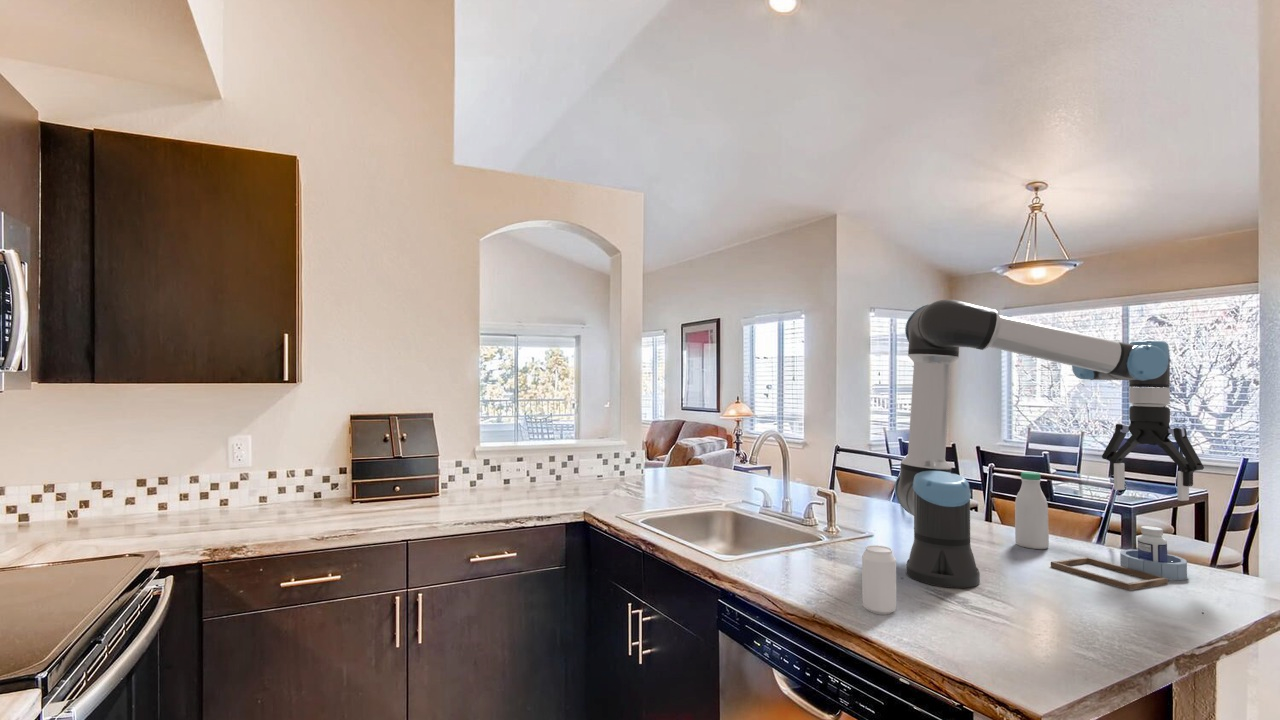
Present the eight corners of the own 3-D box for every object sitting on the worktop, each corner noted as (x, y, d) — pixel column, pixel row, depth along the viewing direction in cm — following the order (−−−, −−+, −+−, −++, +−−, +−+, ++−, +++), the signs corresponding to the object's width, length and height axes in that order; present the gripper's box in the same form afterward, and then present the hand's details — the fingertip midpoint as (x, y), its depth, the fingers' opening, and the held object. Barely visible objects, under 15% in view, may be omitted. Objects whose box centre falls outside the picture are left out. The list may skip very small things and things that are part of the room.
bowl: (1165, 582, 138) (1165, 566, 138) (1109, 567, 149) (1108, 552, 149) (1199, 576, 142) (1199, 561, 142) (1141, 562, 153) (1141, 547, 153)
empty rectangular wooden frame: (1129, 590, 132) (1129, 584, 132) (1050, 566, 149) (1050, 561, 149) (1167, 583, 137) (1167, 578, 137) (1086, 561, 153) (1086, 556, 153)
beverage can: (894, 618, 116) (893, 554, 116) (860, 612, 119) (859, 550, 119) (898, 608, 121) (897, 547, 122) (865, 602, 124) (864, 542, 125)
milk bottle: (1054, 550, 163) (1052, 475, 164) (1022, 549, 165) (1020, 474, 165) (1041, 543, 171) (1040, 471, 171) (1010, 541, 172) (1009, 470, 173)
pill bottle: (1163, 567, 147) (1162, 526, 147) (1171, 574, 142) (1170, 531, 142) (1135, 564, 149) (1134, 524, 149) (1142, 570, 144) (1141, 529, 144)
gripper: (1223, 408, 136) (1224, 504, 135) (1105, 403, 160) (1105, 485, 159) (1201, 408, 134) (1202, 506, 133) (1085, 403, 157) (1085, 486, 156)
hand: (1149, 494), depth 146 cm, fingers open, 13 cm apart
